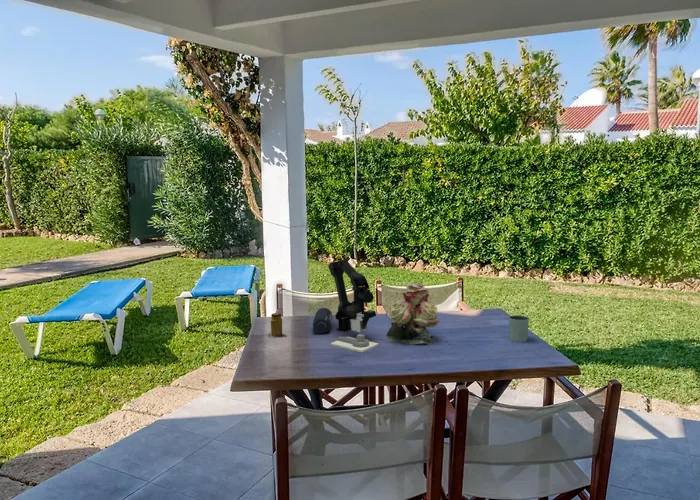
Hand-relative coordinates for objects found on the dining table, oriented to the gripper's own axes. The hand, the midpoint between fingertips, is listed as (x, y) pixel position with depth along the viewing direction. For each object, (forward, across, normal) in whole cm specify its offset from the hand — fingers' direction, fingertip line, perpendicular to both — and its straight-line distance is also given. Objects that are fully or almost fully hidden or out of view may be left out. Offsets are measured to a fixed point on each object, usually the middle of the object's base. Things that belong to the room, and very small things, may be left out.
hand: (359, 327), depth 287 cm
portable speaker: (+5, -26, 0) cm, 27 cm away
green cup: (+5, +70, +45) cm, 83 cm away
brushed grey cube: (+1, 0, 0) cm, 1 cm away
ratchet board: (+5, +7, -13) cm, 16 cm away
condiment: (+5, -37, -24) cm, 44 cm away
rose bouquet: (+5, +25, +16) cm, 30 cm away
